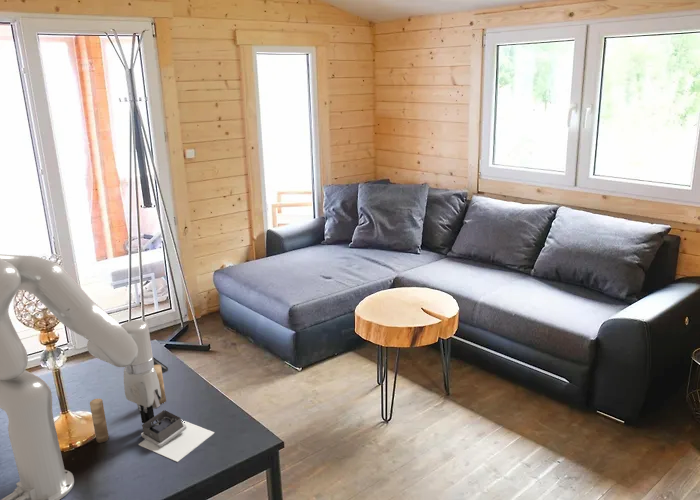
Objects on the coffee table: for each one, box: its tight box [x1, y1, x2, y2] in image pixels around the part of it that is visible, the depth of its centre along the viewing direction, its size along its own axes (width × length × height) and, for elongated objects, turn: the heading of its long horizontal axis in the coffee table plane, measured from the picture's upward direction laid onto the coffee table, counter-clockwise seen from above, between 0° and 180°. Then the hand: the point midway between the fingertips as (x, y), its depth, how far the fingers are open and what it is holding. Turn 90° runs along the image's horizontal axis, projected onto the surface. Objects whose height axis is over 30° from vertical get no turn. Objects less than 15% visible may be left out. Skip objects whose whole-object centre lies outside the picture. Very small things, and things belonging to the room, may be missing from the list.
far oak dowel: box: [154, 365, 167, 405], centre depth 174 cm, size 3×3×12 cm
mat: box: [138, 419, 215, 463], centre depth 158 cm, size 14×15×1 cm
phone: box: [153, 356, 169, 374], centre depth 196 cm, size 8×1×15 cm
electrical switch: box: [140, 409, 187, 447], centre depth 159 cm, size 9×5×9 cm
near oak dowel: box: [89, 398, 110, 443], centre depth 157 cm, size 3×3×12 cm
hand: (148, 421), depth 163 cm, fingers closed
